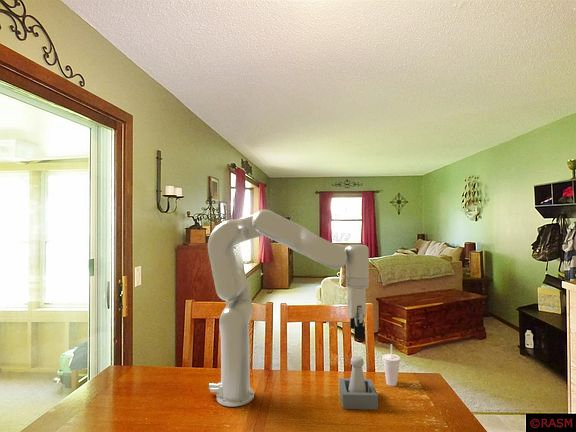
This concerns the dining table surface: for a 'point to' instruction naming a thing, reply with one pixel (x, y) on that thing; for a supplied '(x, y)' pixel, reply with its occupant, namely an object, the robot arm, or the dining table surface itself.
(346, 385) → the socket holder
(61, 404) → the dining table surface
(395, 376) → the smoothie
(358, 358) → the salt shaker
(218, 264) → the robot arm
